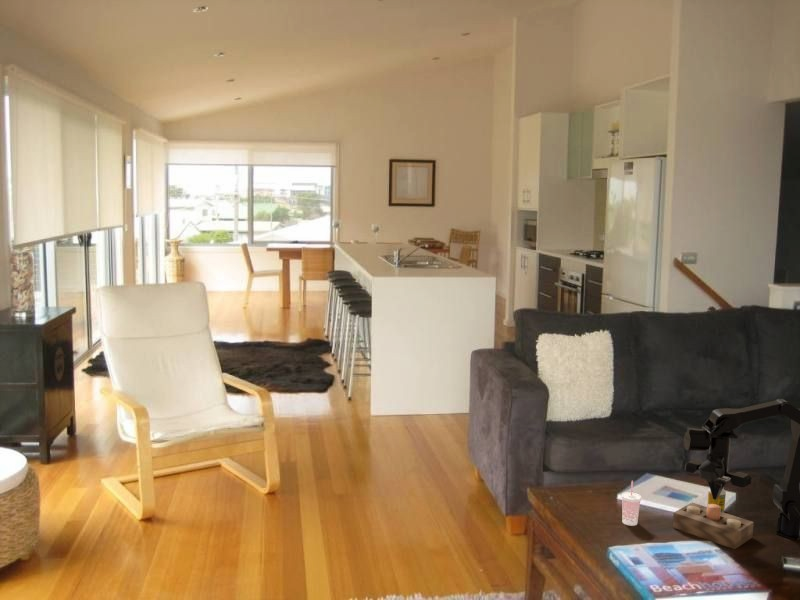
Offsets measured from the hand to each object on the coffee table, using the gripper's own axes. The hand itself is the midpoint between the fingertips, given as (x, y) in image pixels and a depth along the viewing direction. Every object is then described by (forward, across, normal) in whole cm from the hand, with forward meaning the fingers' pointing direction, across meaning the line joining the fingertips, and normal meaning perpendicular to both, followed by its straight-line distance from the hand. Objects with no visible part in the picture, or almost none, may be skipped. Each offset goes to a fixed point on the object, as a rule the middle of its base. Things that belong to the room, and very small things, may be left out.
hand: (715, 499), depth 249 cm
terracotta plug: (+7, 0, 0) cm, 8 cm away
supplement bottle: (+11, -7, +17) cm, 22 cm away
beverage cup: (+11, -21, -13) cm, 27 cm away
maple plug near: (+10, +6, 0) cm, 12 cm away
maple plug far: (+10, -7, 0) cm, 12 cm away
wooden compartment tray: (+11, 0, 0) cm, 11 cm away
